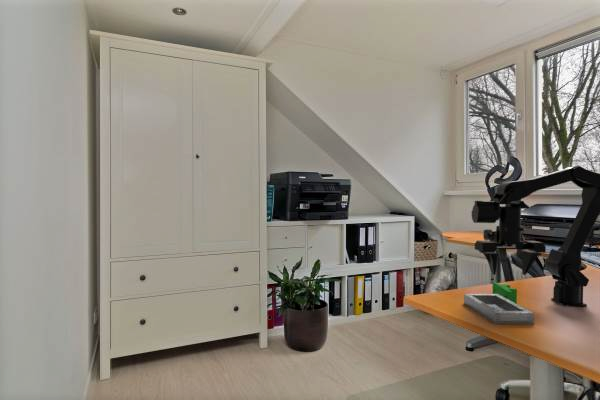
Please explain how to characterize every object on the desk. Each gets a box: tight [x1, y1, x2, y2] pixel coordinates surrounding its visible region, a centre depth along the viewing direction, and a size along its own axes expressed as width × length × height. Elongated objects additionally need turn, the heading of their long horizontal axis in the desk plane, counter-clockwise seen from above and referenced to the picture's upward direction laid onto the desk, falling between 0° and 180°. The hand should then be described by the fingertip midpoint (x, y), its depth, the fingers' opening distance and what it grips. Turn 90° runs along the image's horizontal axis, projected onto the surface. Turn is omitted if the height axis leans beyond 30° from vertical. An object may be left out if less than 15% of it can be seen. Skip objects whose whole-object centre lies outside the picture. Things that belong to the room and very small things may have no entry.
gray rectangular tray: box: [463, 293, 535, 325], centre depth 101 cm, size 10×17×3 cm, turn 0°
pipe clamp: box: [491, 281, 518, 304], centre depth 112 cm, size 11×4×5 cm, turn 173°
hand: (508, 274), depth 112 cm, fingers open, 9 cm apart
